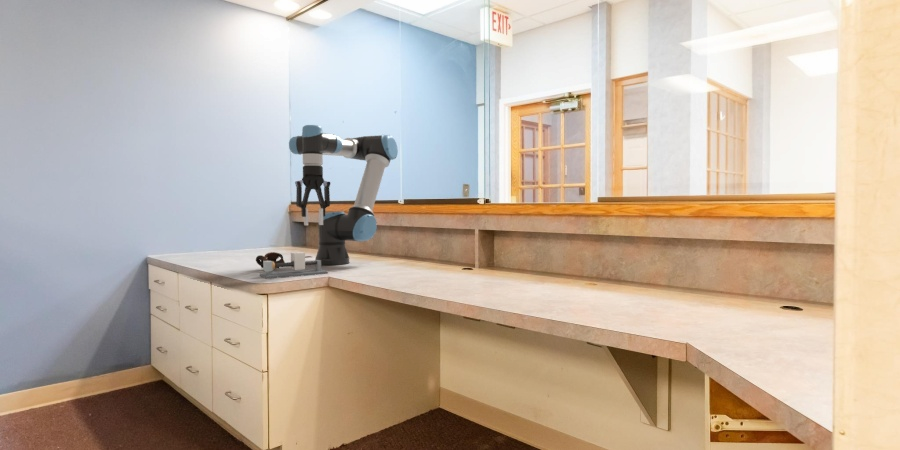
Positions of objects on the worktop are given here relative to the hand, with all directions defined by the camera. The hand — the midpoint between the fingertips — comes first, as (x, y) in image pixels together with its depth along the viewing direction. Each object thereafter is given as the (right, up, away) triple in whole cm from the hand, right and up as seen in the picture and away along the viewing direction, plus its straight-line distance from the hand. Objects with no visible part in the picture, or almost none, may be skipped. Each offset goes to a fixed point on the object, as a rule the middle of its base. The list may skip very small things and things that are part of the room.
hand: (313, 225), depth 200 cm
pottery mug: (-21, -19, +11) cm, 30 cm away
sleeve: (-5, -17, -3) cm, 18 cm away
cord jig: (-6, -19, -4) cm, 20 cm away
